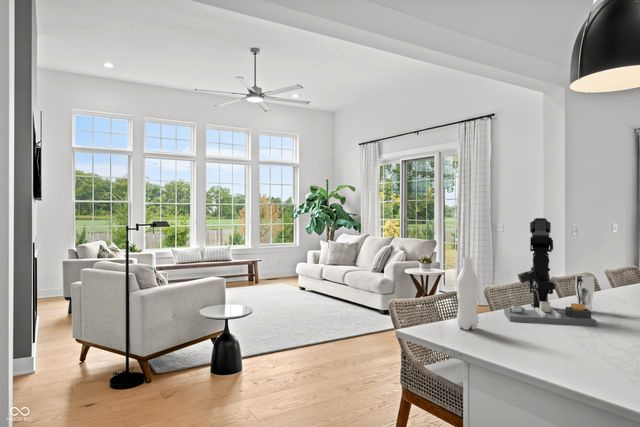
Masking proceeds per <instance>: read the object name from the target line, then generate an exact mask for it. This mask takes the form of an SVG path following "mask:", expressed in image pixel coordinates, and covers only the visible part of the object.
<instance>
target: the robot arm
mask: <svg viewBox="0 0 640 427" xmlns="http://www.w3.org/2000/svg"><path fill="white" fill-rule="evenodd" d="M533 219H534V220H532V221H530V222H529V233H531V236H530V237H529V238H530V240H529V241H530V243H529V244H530V245H529V246H530V249H529V250H530V251H529V252H533V253H532V266H531V267H530V270H528V271H524V272H521V273H517V277H518V280H519V282H520V283H521V284H524V283H529V293H530V294H532V298H533V299H532V303H530V306H532V307H533V308H535V307H536V308H539V309H540V301H545V302H549V297H548V296H549V295H553V294H554V290H556V284H555V283H554V282H553V281H552V279H551V278H550V271H551V268H550V265H549V264H550V256H549V254H550V253H552V251H553V250H554V240H553V238H552V237H550V234H551V231H552V230H551V226H552V224H551V222H550V221H548V219H547V218H545V217H536V218H533Z"/></svg>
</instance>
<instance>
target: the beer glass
mask: <svg viewBox="0 0 640 427" xmlns="http://www.w3.org/2000/svg"><path fill="white" fill-rule="evenodd" d="M595 287H596V286H595V276H594V275H593V274H587V273H577V274H575V281H574V289H575V294H576V300H577V302H576V304H583V305H585V308H587V309H588V310H590V311H591V313H593V312H594V307H593V299H594V294H595Z"/></svg>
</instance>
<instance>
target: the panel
mask: <svg viewBox="0 0 640 427" xmlns="http://www.w3.org/2000/svg"><path fill="white" fill-rule="evenodd" d="M503 310H504V311H503V313H504V314H503V315H505V317H506V318H507V319H508V320H509V322H516V323H533V324H537V323H538V324H551V325H552V324H553V325H554V324H555V325H571V326H572V325H573V326H589V327H590V326H591V327H596V326H597V320H596V319H595V318H593V317H592V312H591V311H590V310H588V309H587V308H585V311H577V310H571V306H566V307H565V310H564V311H560V310H559V311H558V310H555V309H553V308H552V307H550V312H543V311H542V310H540V308H536V307H535V309H525V307H523V306H522V309H512V307H511V306H508V308H504V309H503Z"/></svg>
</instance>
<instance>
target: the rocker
mask: <svg viewBox="0 0 640 427" xmlns="http://www.w3.org/2000/svg"><path fill="white" fill-rule="evenodd" d="M510 307H512V309H522V307H523V306H519V305H511V306H510Z"/></svg>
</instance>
